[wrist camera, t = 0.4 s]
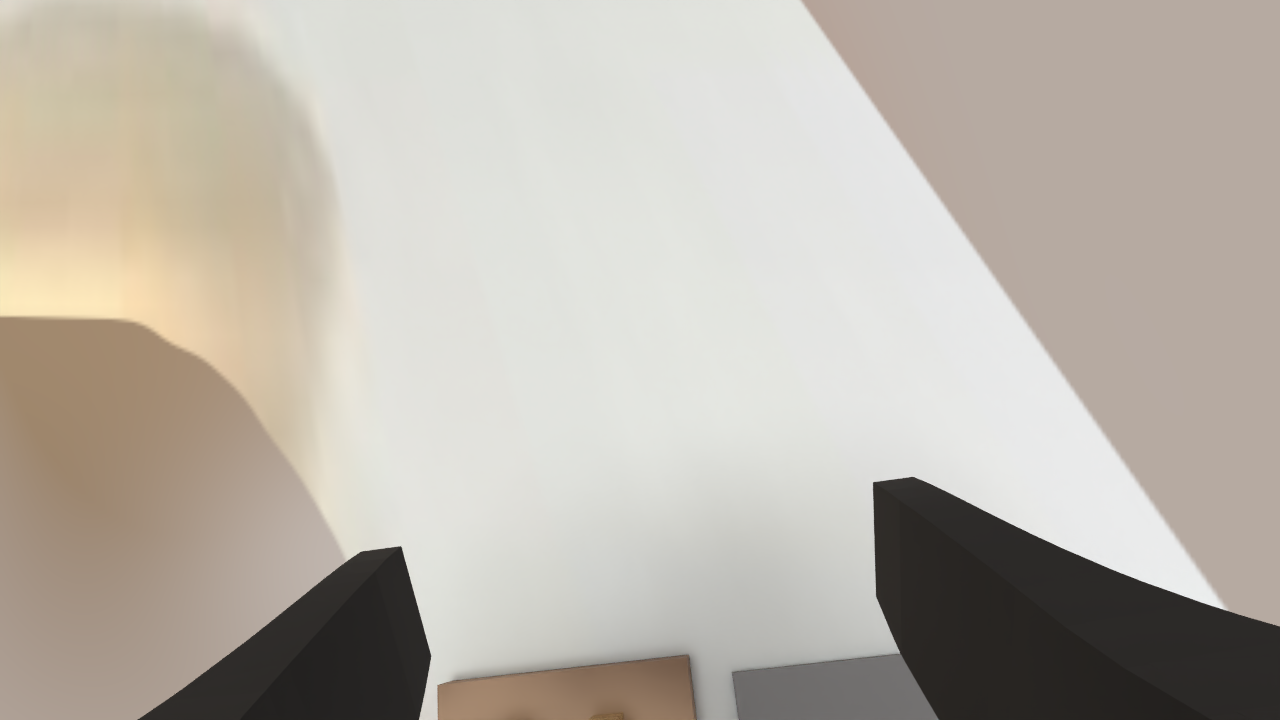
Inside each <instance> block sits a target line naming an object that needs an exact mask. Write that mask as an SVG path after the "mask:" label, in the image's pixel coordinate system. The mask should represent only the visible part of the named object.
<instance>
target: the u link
mask: <svg viewBox="0 0 1280 720" xmlns="http://www.w3.org/2000/svg"><path fill="white" fill-rule="evenodd" d="M588 720H624V716H623V712H620V713H610V714H601V715H593V716H592V717H591V718H589V719H588Z"/></svg>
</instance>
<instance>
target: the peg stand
mask: <svg viewBox="0 0 1280 720" xmlns="http://www.w3.org/2000/svg"><path fill="white" fill-rule="evenodd" d="M620 712H623V716H624V720H697V718H696V710H695V702H694V694H693V685H692V677H691V669H690V661H689V655H681V656H672V657H663V658H654V659H645V660H636V661H627V662H618V663H609V664H600V665H591V666H582V667H573V668H564V669H555V670H546V671H537V672H528V673H519V674H510V675H501V676H492V677H483V678H474V679H465V680H456V681H451V682H447V683H443V684H440V685H438V720H588V719H589V718H591V717H592V716H593V715H601V714H610V713H620Z"/></svg>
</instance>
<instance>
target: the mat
mask: <svg viewBox="0 0 1280 720" xmlns="http://www.w3.org/2000/svg"><path fill="white" fill-rule="evenodd" d="M732 674H733V681H734V688H735V695H736V702H737V709H738V716H739V720H939V719H938V718H937V716H936V714H935V713H934V711H933V709H932V707H931V706H930V704H929V702H928V701H927V699H926V697H925V696H924V694H923V692H922V690H921V689H920V687H919V685H918V683H917V682H916V680H915V678H914V677H913V675H912V673H911V671H910V670H909V668H908V666H907V664H906V663H905V661H904V659H903V657H902V656H901V654H895V655H886V656H877V657H868V658H859V659H849V660H840V661H831V662H822V663H813V664H804V665H794V666H785V667H776V668H767V669H758V670H748V671H739V672H732Z"/></svg>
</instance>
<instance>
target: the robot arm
mask: <svg viewBox="0 0 1280 720" xmlns="http://www.w3.org/2000/svg"><path fill="white" fill-rule="evenodd" d="M873 499H874V535H875V571H876V597H877V599H878V602H879V604H880V607H881V609H882V611H883V614H884V616H885V619H886V621H887V624H888V626H889V628H890V631H891V633H892V635H893V637H894V640H895V642H896V644H897V647H898V649H899V651H900V653H901V656H902V657H903V659H904V661H905V663H906V664H907V666H908V668H909V670H910V671H911V673H912V675H913V677H914V678H915V680H916V682H917V683H918V685H919V687H920V689H921V690H922V692H923V694H924V696H925V697H926V699H927V701H928V702H929V704H930V706H931V707H932V709H933V711H934V713H935V714H936V716H937V718H938V719H939V720H1280V627H1279V626H1276V625H1272V624H1269V623H1266V622H1262V621H1258V620H1255V619H1251V618H1248V617H1245V616H1241V615H1238V614H1235V613H1232V612H1229V611H1226V610H1223V609H1219V608H1216V607H1213V606H1210V605H1207V604H1204V603H1201V602H1198V601H1195V600H1193V599H1190V598H1187V597H1184V596H1181V595H1178V594H1176V593H1173V592H1170V591H1167V590H1164V589H1162V588H1159V587H1156V586H1153V585H1150V584H1148V583H1145V582H1142V581H1139V580H1137V579H1134V578H1132V577H1129V576H1127V575H1124V574H1121V573H1119V572H1116V571H1114V570H1111V569H1109V568H1107V567H1104V566H1102V565H1100V564H1097V563H1095V562H1093V561H1090V560H1088V559H1086V558H1083V557H1081V556H1079V555H1076V554H1074V553H1072V552H1069V551H1067V550H1065V549H1063V548H1060V547H1058V546H1056V545H1054V544H1052V543H1049V542H1047V541H1045V540H1043V539H1041V538H1039V537H1037V536H1034V535H1032V534H1030V533H1028V532H1026V531H1024V530H1022V529H1020V528H1018V527H1016V526H1014V525H1012V524H1010V523H1007V522H1005V521H1003V520H1001V519H999V518H997V517H995V516H993V515H991V514H989V513H987V512H985V511H983V510H981V509H979V508H977V507H975V506H973V505H972V504H970V503H968V502H966V501H964V500H962V499H960V498H958V497H956V496H954V495H952V494H950V493H948V492H946V491H944V490H941V489H939V488H937V487H935V486H933V485H931V484H929V483H927V482H924V481H922V480H920V479H917V478H915V477H909V478H902V479H895V480H887V481H880V482H873ZM430 660H431V654H430V650H429V646H428V643H427V639H426V635H425V632H424V628H423V624H422V621H421V617H420V613H419V610H418V606H417V602H416V599H415V595H414V591H413V588H412V584H411V580H410V577H409V573H408V569H407V566H406V562H405V559H404V555H403V551H402V548H401V546H400V547H392V548H385V549H377V550H370V551H363V552H360V553H359V554H357V555H356V556H354V557H353V558H351V559H350V560H348V561H347V562H345V563H344V564H343V565H341V566H340V567H339V568H338V569H336V570H335V571H334V572H332V573H331V574H330V575H329V576H327V577H326V578H325V579H323V580H322V581H321V582H320V583H318V584H317V585H316V586H315V587H313V588H312V589H311V590H310V591H309V592H307V593H306V594H305V595H304V596H302V597H301V598H300V599H299V600H298V601H296V602H295V603H294V604H292V605H291V606H290V607H289V608H287V609H286V610H285V611H284V612H283V613H281V614H280V615H279V616H278V617H276V618H275V619H274V620H272V621H271V622H270V623H269V624H268V625H266V626H265V627H264V628H262V629H261V630H260V631H259V632H257V633H256V634H255V635H254V636H252V637H251V638H250V639H249V640H247V641H246V642H245V643H244V644H242V645H241V646H240V647H238V648H237V649H235V650H234V651H233V652H231V653H230V654H229V655H227V656H226V657H225V658H223V659H222V660H221V661H219V662H218V663H217V664H215V665H214V666H213V667H211V668H210V669H209V670H207V671H206V672H205V673H203V674H202V675H201V676H199V677H198V678H197V679H195V680H194V681H193V682H191V683H190V684H189V685H187V686H186V687H185V688H183V689H182V690H180V691H179V692H178V693H176V694H175V695H173V696H172V697H170V698H169V699H168V700H166V701H165V702H163V703H162V704H160V705H159V706H157V707H156V708H154V709H153V710H152V711H150V712H149V713H147V714H146V715H144V716H143V717H141V718H140V719H138V720H419V717H420V712H421V707H422V703H423V698H424V693H425V688H426V683H427V677H428V671H429V666H430Z"/></svg>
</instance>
